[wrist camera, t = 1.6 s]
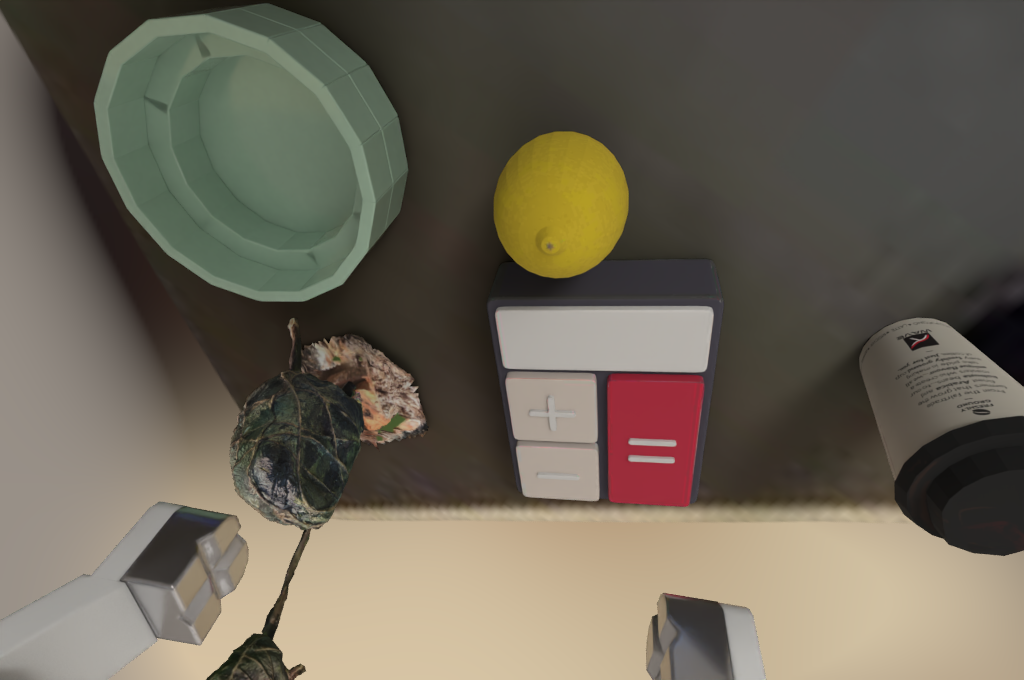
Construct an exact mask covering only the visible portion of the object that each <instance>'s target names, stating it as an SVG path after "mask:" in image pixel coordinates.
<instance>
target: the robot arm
mask: <svg viewBox="0 0 1024 680" xmlns="http://www.w3.org/2000/svg"><path fill="white" fill-rule="evenodd" d="M240 528H241V525H240V523H239V520H238V518H237V516H234V515H229V514H224V513H218V512H213V511H207V510H202V509H196V508H191V507H187V506H183V505H177V504H171V503H165V502H158V503H157V504H155V505H153V506H152V507H150V508H149V509H148V510H147V511H146V513H145V514H144V515H143V516H142V517H141V519H140V520H139V521H138V522H137V523H136V524H135V525H134V526H133V528H132V529H131V530H130V531H129V532H128V533H127V534H126V536H125V537H124V538H123V539H122V540H121V541H120V543H119V544H118V545H117V546H116V547H115V548H114V550H113V551H112V552H111V553H110V554H109V555H108V556H107V558H106V559H105V560H104V561H103V562H102V563H101V565H100V566H99V567H98V568H97V569H96V570H95V572H94V573H93V574H92V575H85V574H83V575H82V576H80V577H78V578H76V579H74V580H72V581H71V582H69V583H67V584H65V585H63V586H61V587H60V588H58V589H56V590H54V591H52V592H51V593H49V594H47V595H45V596H43V597H42V598H40V599H38V600H36V601H34V602H32V603H31V604H29V605H27V606H25V607H23V608H21V609H20V610H18V611H16V612H14V613H12V614H11V615H9V616H7V617H5V618H3V619H2V620H0V680H108V679H109V678H110V677H112V676H113V675H114V674H116V673H117V672H118V671H119V670H121V669H122V668H123V667H125V666H126V665H127V664H128V663H130V662H131V661H132V660H134V659H135V658H136V657H137V656H139V655H140V654H141V653H143V652H144V651H145V650H146V649H148V648H149V647H150V646H152V645H153V644H154V643H155V642H157V638H161V639H166V640H172V641H178V642H183V643H189V644H195V645H201V644H202V642H203V641H204V639H205V637H206V636H207V634H208V632H209V631H210V629H211V627H212V626H213V624H214V623H215V621H216V619H217V618H218V616H219V615H220V613H221V598H223V597H224V596H226V595H227V594H229V593H230V592H232V591H233V590H235V589H236V587H237V585H238V583H239V582H240V580H241V578H242V577H243V574H244V571H245V568H246V565H247V562H248V546H247V543H246V541H245V540H244V539H243V538H242V537H241V536H240V535H238V534H237V532H238V531H239V529H240ZM657 606H658V607H657V608H658V614H657V615H655V616H653V617H652V619H651V622H650V625H649V630H648V636H647V648H646V664H647V665H646V666H647V671H648V673H649V675H650V676H651V678H652V680H766V676H765V671H764V666H763V661H762V656H761V651H760V646H759V641H758V636H757V631H756V627H755V622H754V617H753V615H752V613H751V611H750V609H748V608H746V607H741V606H735V605H729V604H724V603H718V602H716V601H710V600H704V599H698V598H691V597H685V596H679V595H673V594H667V593H663V594H661V595H660V597H659V600H658V602H657Z"/></svg>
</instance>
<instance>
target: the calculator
mask: <svg viewBox="0 0 1024 680" xmlns="http://www.w3.org/2000/svg"><path fill="white" fill-rule="evenodd" d="M723 308H724V301H723V296H722V292H721V288H720V283H719V279H718V275H717V271H716V267H715V264H714V262H713V261H712V260H710V259H666V260H609V261H601V262H600V263H599V264H598V265H596V266H595V267H593V268H591V269H589V270H588V271H586V272H584V273H582V274H579V275H576V276H572V277H568V278H550V277H543V276H540V275H537V274H535V273H532V272H529V271H527V270H526V269H525V268H523V267H522V266H520V265H519V264H517V263H516V262H506V263H502V264H501V265H500V266H499V268H498V271H497V274H496V276H495V279H494V282H493V285H492V288H491V291H490V294H489V297H488V300H487V311H488V317H489V323H490V329H491V335H492V341H493V347H494V353H495V359H496V365H497V371H498V377H499V383H500V389H501V395H502V401H503V408H504V414H505V420H506V426H507V432H508V438H509V444H510V450H511V456H512V462H513V468H514V474H515V480H516V485H517V489H518V491H519V492H521V493H523V495H524V496H526V497H536V498H552V499H568V500H584V501H597V500H599V498H601V499H609V500H610V501H611V502H616V503H632V504H648V505H664V506H680V507H686V506H688V505H689V504H692V503H694V502H696V500H697V496H698V489H699V482H700V475H701V467H702V460H703V453H704V446H705V438H706V431H707V424H708V417H709V410H710V402H711V395H712V388H713V381H714V374H715V366H716V359H717V352H718V345H719V338H720V330H721V323H722V316H723Z"/></svg>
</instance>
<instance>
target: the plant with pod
mask: <svg viewBox="0 0 1024 680" xmlns="http://www.w3.org/2000/svg"><path fill="white" fill-rule="evenodd" d="M288 328H289V331H290V332H291V338H292V339H293V347H292V349H291V356H290V359H289V364H290V369H289V371H285V372H281V374H279V375H278V376H276V377H274V378H272V379H269V380H268V381H266V382H264V383H263V384H261V385H260V387H258V388H256V389H255V390H254V391H253V393H252V394H250V395H249V396H248V397H247V400H246V403H245V405H244V409H243V410H242V411H241V413H240V414H238V415H237V423H238V425H237V427H236V428H235V429H234V435H233V436H232V438H231V439H232V440H231V447H230V464H231V469H232V475H233V479H234V485H235V491H236V492H237V494H238V495H239V496H240V497H241V498H242V499H243V500H245V502H246V503H247V504H248V505H250V506H251V507H253V508H254V509H255V510H257V511H258V512H259V513H260V514H261V515H262V516H263V517H264V518H266V519H268V520H269V521H273V522H277V523H280V524H283V525H295V526H296V527H299V528H300V529H301V530H304V532H303V534H302V538H301V540H300V542H299V545H298V547H297V549H296V551H295V553H294V555H293V558H292V560H291V562H290V565H289V568H288V570H287V574H286V577H285V581H284V584H283V587H282V590H281V594H280V596H279V598H278V599H277V601H276V603H275V604H274V607H273V608H272V609H271V610H270V612H269V614H268V615H267V618H266V622H265V626H264V628H263V630H262V633H263V634H253V635H251V637H250V638H248V639H247V640H246V641H245V642H244V644H243V645H241V646H240V647H238V648H237V649H235V650H233V653H232V654H231V655H230V657H229V658H228V660H227V661H226V662H225V663H223V664H222V665H221V666H220V668H219V669H218V670H216V671H214V672H213V673H212V674H211V675H210V676H209V677H208V678H207V679H206V680H294V679H295V678H296V677H297V676H298V675H301V674H302V673H303V672H305V671H306V670H305V666H303V665H302V664H299V665H297V666H295V667H293V668H291V669H290V670H288V669H287V668H286V667H285V665H284V663H283V662H282V652H281V650H279V648H278V647H277V646H276V644H275V643H274V642H273V641H272V640H273V637H274V634H275V631H276V629H277V627H278V624H279V620H280V616H281V612H282V609H283V606H284V602H285V601H286V599H287V595H288V585H289V583H290V581H291V579H292V577H293V575H294V571H295V569H296V567H297V565H298V562H299V560H300V557H301V555H302V552H303V550H304V548H305V546H306V544H307V542H308V540H309V535H310V531H311V529H312V528H313V529H319V528H320V527H321V526H322V525H323V524H324V523H326V522H328V521H329V519H330V518H331V516H332V514H333V512H334V510H335V508H336V506H337V503H338V501H339V499H340V497H341V496H342V493H343V490H344V487H345V485H346V483H347V481H348V477H349V472H350V470H351V468H352V466H353V463H354V461H355V459H356V458H357V456H358V453H359V452H360V449H361V441H360V440H362V441H363V442H366V443H367V444H368V445H369V446H370V445H371V444H372V443H373V444H374V445H375V447H376V448H377V449H378V447H377V444H376V442H378V443H382V444H385V442H384V441H388V442H391V441H392V440H394V439H395V438H396V439H397V440H398V441H400V440H401V439H406V436H407V437H409V438H410V434H411V435H412V436H413V437H414V438H415V436H416V435H417V434H418V435H420V436H423V435H424V434H426V431H428V429H427V428H429V427H428V426H427V425H426V424H427V423H426V421H425V420H426V419H425V416H424V415H423V409H422V408H421V405H420V400H419V398H418V394H419V393H414V392H415V391H416V389H417V388H418V387H409V386H410V385H411V384H412V382H413V381H414V380H415V379H414V378H413V377H412V376H411V375H410V374H408V373H406V372H405V370H402V369H401V368H399V367H398V366H397V365H394V362H390V360H389V359H388V358H387V357H385V356H384V354H383V352H380V351H379V350H375V349H373V350H372V346H371V344H368V342H367V341H366V342H365V341H364V339H363V337H361V338H360V337H359V336H358V335H357V336H355V335H354V334H352V335H350V334H349V333H348V335H349V337H348V336H347V335H346V334H345V336H344V337H333V336H332V338H331V340H330V342H329V344H328V342H327V341H326V340H325V338H324V340H323V342H320V341H318V342H319V344H320V345H319V344H317V343H315V347H314V345H313V343H312V344H311V345H310V346H307V345H304V349H305V350H302V349H301V338H300V331H299V324H298V319H297V318H292V319H291V320H290V323H289V324H288ZM385 445H386V444H385ZM378 450H379V449H378Z"/></svg>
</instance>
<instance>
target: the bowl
mask: <svg viewBox="0 0 1024 680" xmlns="http://www.w3.org/2000/svg"><path fill="white" fill-rule="evenodd" d="M94 109H95V116H96V123H97V130H98V137H99V144H100V151H101V156H102V159H103V161H104V163H105V165H106V167H107V169H108V171H109V173H110V175H111V177H112V179H113V181H114V183H115V185H116V187H117V189H118V191H119V193H120V196H121V198H122V200H123V202H124V204H125V206H126V208H127V209H129V212H130V213H131V214H132V215H133V216H134V217H135V218H136V220H137V221H138V222H139V223H140V224H141V225H142V226H143V228H144V229H145V230H146V231H147V232H148V233H149V234H150V236H151V237H152V238H153V239H154V240H155V241H156V242H157V244H158V245H159V246H160V247H161V248H162V249H163V250H164V251H165V252H166V253H167V255H169V256H170V257H172V258H173V259H175V260H176V261H177V262H179V263H180V264H182V265H183V266H185V267H186V268H188V269H189V270H191V271H192V272H193V273H195V274H196V275H198V276H199V277H201V278H202V279H204V280H205V281H207V282H208V283H209V284H211V285H214V286H217V287H219V288H222V289H225V290H228V291H231V292H234V293H237V294H240V295H242V296H245V297H248V298H251V299H254V300H257V301H285V302H303V301H307V300H309V299H311V298H314V297H316V296H318V295H320V294H323V293H325V292H327V291H330V290H332V289H334V288H336V287H339V286H341V285H342V284H344V282H345V281H346V280H347V279H348V278H349V276H350V275H351V274H352V273H353V271H354V270H355V269H356V268H357V267H358V265H359V264H360V263H361V262H362V260H363V259H364V258H365V257H366V256H367V254H368V253H369V252H370V251H371V249H372V248H373V247H374V246H375V245H376V243H377V242H378V241H379V239H380V238H381V237H382V236H383V234H384V233H385V232H386V230H387V229H388V228H389V226H390V225H391V224H392V222H393V221H394V220H395V219H396V217H397V216H398V215H399V213H400V210H401V204H402V199H403V194H404V189H405V184H406V179H407V174H408V164H407V159H406V154H405V149H404V144H403V139H402V134H401V128H400V123H399V118H398V117H397V116H398V115H397V113H396V111H395V109H394V108H393V106H392V104H391V103H390V101H389V99H388V97H387V96H386V94H385V92H384V91H383V89H382V87H381V85H380V84H379V82H378V80H377V79H376V77H375V75H374V73H373V72H372V70H371V68H370V67H369V65H367V63H366V62H365V61H364V60H362V59H361V58H360V57H359V56H358V55H357V54H356V53H354V52H353V51H352V50H351V49H350V48H349V47H348V46H346V45H345V44H344V43H343V42H342V41H341V40H340V39H338V38H337V37H336V36H335V35H334V34H333V33H332V32H330V31H329V30H328V29H327V28H326V27H325V26H324V25H322V24H321V23H320V22H317V21H314V20H312V19H309V18H306V17H304V16H301V15H298V14H296V13H293V12H290V11H288V10H285V9H282V8H280V7H277V6H274V5H271V4H269V3H260V4H250V5H240V6H230V7H220V8H213V9H207V10H202V11H196V12H190V13H183V14H178V15H172V16H166V17H160V18H154V19H149V20H147V21H145V22H144V23H143V24H142V25H141V26H139V27H138V28H137V29H136V30H134V31H133V32H132V33H131V34H130V35H128V36H127V37H126V38H125V39H124V40H122V41H121V42H120V43H119V44H117V45H116V46H115V47H114V48H113V49H111V50H110V51H109V53H108V56H107V59H106V63H105V66H104V69H103V72H102V76H101V79H100V82H99V86H98V89H97V92H96V95H95V99H94Z"/></svg>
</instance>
